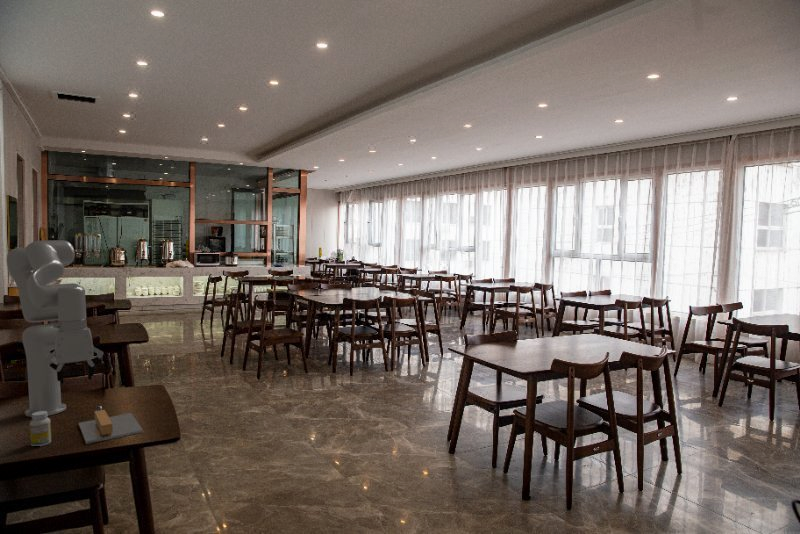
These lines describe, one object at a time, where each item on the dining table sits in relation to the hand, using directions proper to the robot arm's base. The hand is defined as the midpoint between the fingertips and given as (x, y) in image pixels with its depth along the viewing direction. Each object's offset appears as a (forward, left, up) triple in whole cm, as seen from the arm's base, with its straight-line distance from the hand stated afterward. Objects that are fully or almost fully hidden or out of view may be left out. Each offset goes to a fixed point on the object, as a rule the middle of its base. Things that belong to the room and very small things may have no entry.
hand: (75, 380), depth 172 cm
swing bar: (+1, +7, -16) cm, 18 cm away
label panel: (0, +9, -18) cm, 20 cm away
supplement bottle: (+1, -10, -18) cm, 21 cm away
